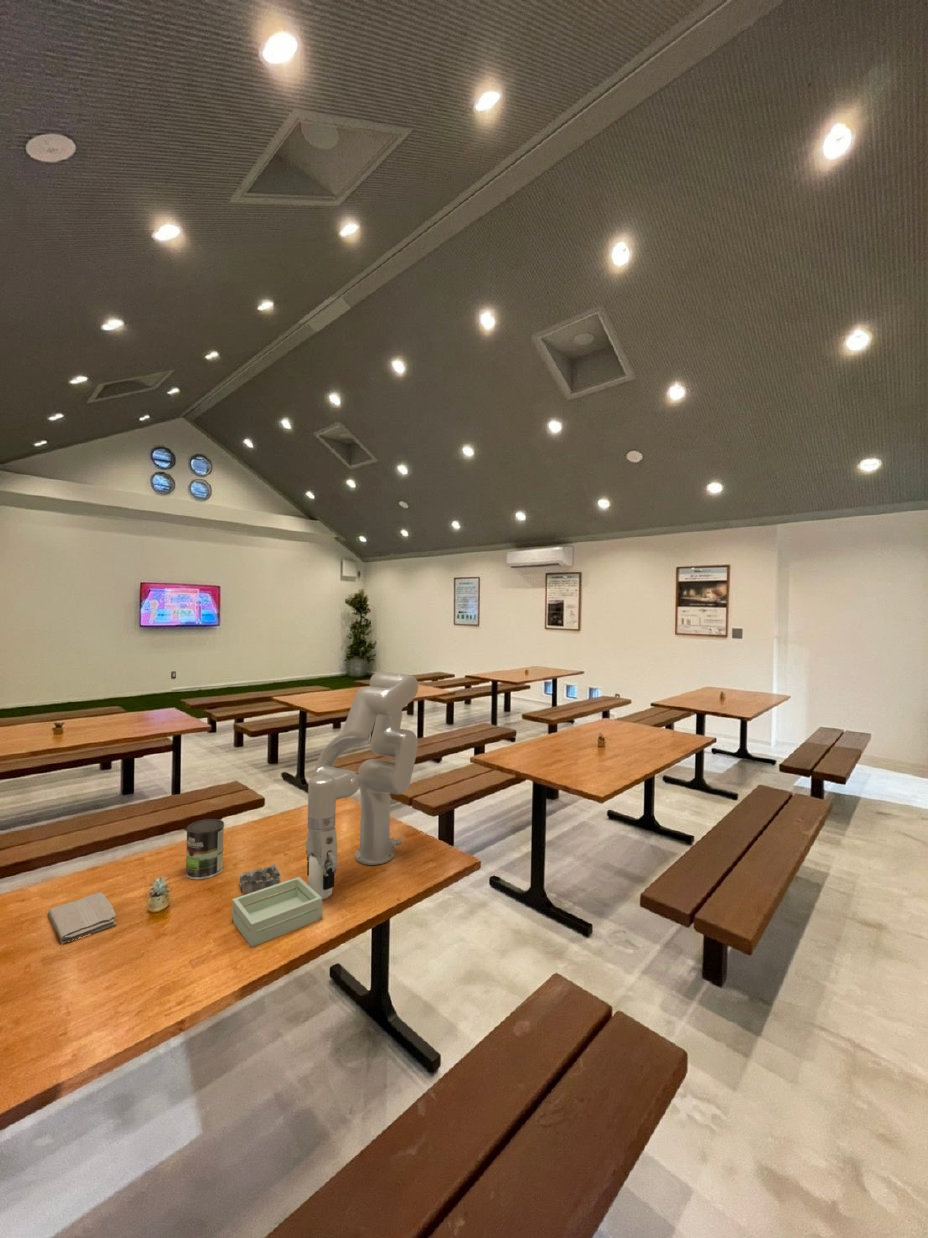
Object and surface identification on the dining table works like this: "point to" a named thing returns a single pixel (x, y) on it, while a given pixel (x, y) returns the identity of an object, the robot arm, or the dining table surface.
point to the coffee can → (204, 849)
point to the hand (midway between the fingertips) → (320, 881)
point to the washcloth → (82, 917)
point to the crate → (276, 910)
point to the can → (317, 878)
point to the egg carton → (262, 875)
